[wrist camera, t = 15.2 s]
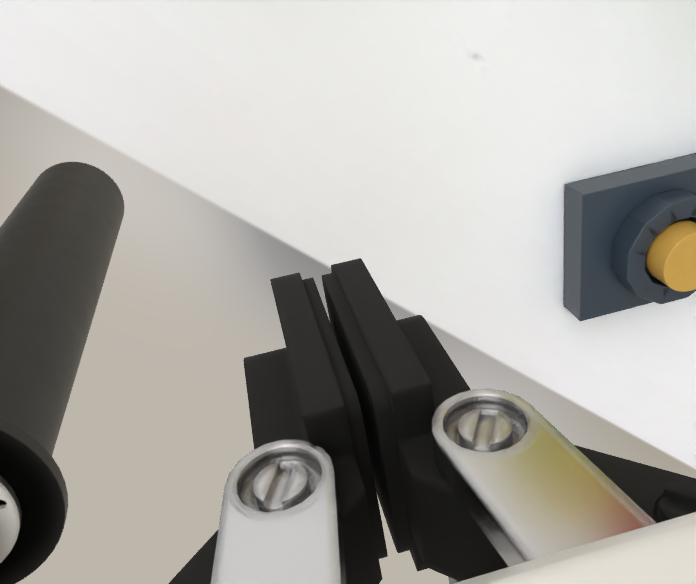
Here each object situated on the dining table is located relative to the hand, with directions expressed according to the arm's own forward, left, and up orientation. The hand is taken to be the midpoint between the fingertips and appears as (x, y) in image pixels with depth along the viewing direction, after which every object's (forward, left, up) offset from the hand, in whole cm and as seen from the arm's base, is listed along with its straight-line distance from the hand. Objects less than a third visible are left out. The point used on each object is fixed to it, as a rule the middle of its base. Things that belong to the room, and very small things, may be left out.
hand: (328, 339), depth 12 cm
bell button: (+24, -14, -21) cm, 35 cm away
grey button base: (+24, -14, -25) cm, 37 cm away
